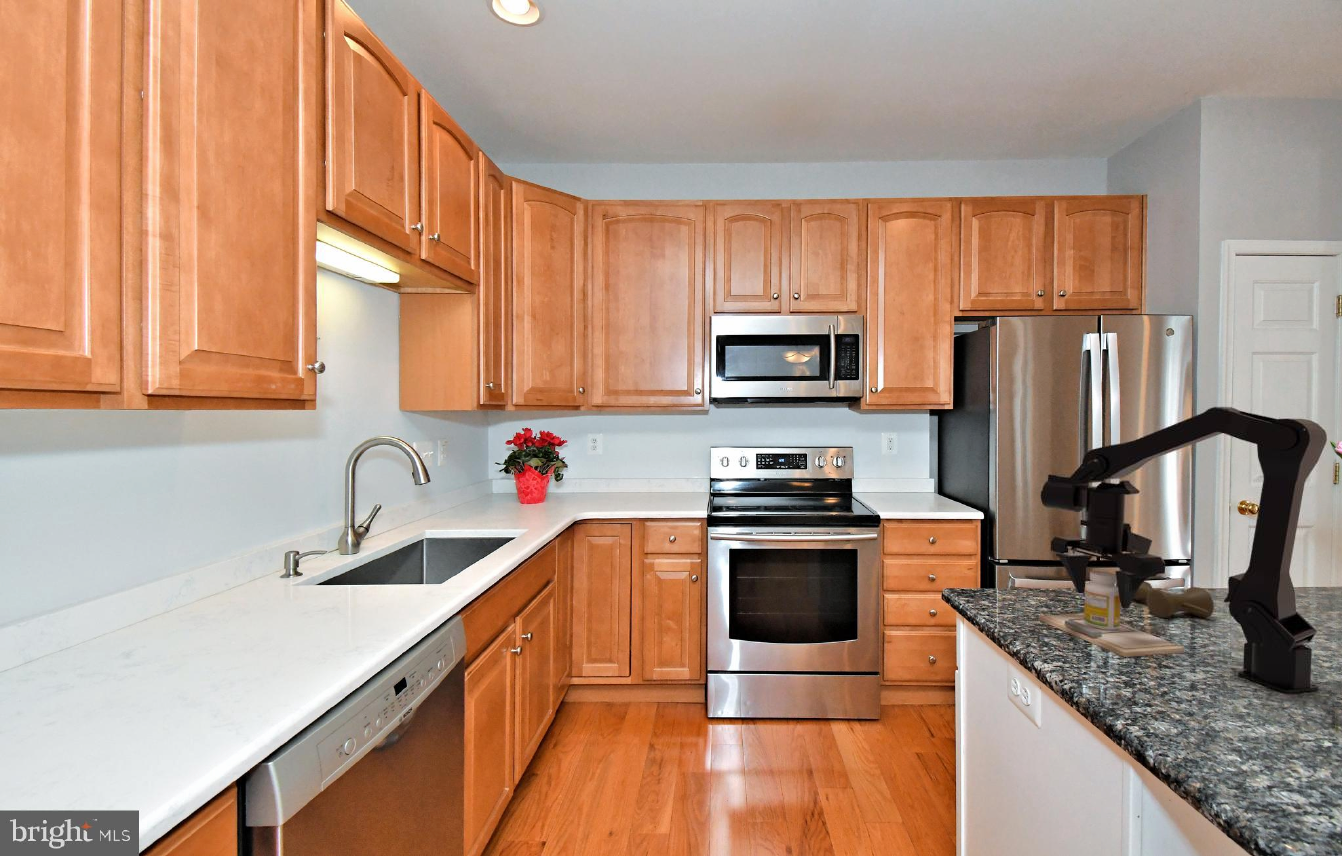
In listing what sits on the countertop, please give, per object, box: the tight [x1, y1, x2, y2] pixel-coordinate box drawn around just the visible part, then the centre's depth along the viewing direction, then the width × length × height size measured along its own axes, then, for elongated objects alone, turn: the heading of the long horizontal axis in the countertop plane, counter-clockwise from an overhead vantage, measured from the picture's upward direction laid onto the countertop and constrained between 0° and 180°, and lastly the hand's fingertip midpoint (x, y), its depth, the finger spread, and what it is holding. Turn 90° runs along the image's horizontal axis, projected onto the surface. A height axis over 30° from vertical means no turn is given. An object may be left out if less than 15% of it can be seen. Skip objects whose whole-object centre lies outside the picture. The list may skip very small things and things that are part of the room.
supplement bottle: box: [1083, 570, 1121, 630], centre depth 112 cm, size 5×5×10 cm
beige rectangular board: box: [1038, 612, 1185, 658], centre depth 110 cm, size 18×12×2 cm, turn 11°
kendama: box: [1115, 580, 1215, 619], centre depth 125 cm, size 6×10×20 cm
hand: (1102, 600), depth 112 cm, fingers open, 9 cm apart
